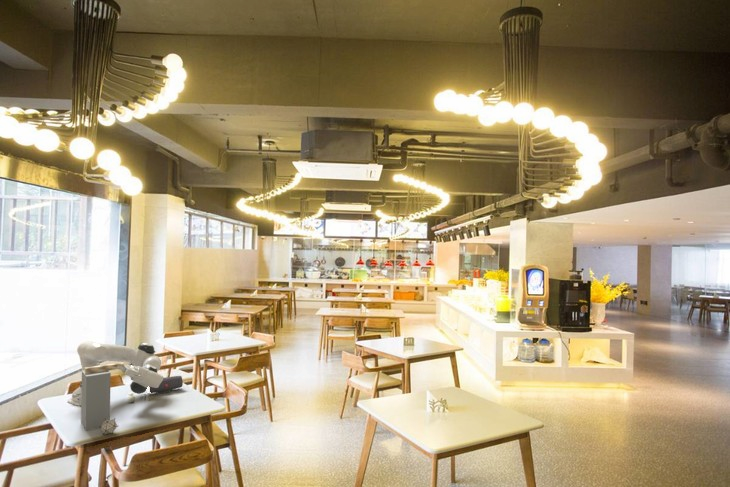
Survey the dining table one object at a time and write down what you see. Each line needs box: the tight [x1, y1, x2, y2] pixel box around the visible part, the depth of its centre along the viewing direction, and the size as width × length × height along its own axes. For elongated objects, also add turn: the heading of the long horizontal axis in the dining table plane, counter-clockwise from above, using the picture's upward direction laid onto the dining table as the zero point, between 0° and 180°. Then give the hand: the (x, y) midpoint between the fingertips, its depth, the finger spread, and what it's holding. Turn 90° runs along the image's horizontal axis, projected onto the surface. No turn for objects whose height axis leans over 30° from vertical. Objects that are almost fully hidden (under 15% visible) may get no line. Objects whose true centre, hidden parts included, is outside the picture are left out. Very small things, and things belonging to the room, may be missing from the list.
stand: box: [80, 370, 112, 431], centre depth 263 cm, size 12×16×30 cm
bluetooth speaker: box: [150, 375, 184, 394], centre depth 323 cm, size 23×9×10 cm, turn 131°
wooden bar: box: [85, 362, 125, 374], centre depth 266 cm, size 20×3×3 cm, turn 130°
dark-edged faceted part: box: [99, 418, 119, 436], centre depth 248 cm, size 9×8×10 cm
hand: (115, 365), depth 269 cm, fingers open, 4 cm apart
